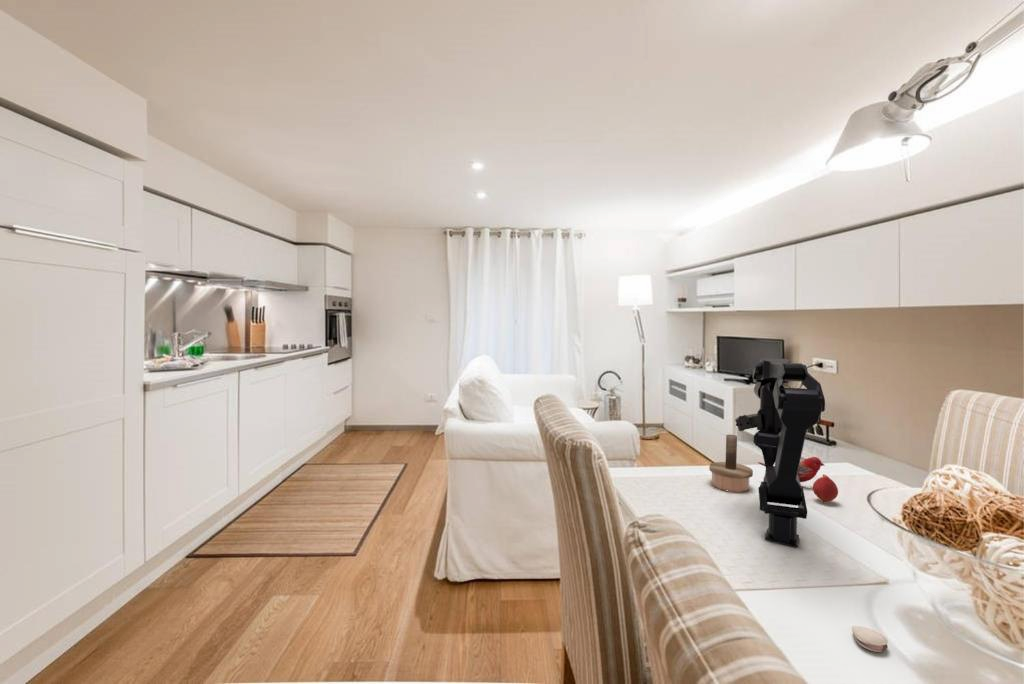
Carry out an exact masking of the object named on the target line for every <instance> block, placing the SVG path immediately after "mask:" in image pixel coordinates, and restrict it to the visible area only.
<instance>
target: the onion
mask: <svg viewBox="0 0 1024 684" xmlns="http://www.w3.org/2000/svg"><path fill="white" fill-rule="evenodd" d="M812 491H813V493H814V495H815V496H816V497H817V498H818V499H819V500H820V501H821V502H822V503H824V502H827V503H828V502H831V501H834V500H835V499H836V498H837V497H838V495H839V489H838V486H837V484H836V482H834V481H833V479H831V478H830V477H829V476H828V475H827V474H826V473H825V474H822V477H819V478H817V479H816V480H815V481H814V482H813V484H812Z"/></svg>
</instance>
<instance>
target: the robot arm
mask: <svg viewBox="0 0 1024 684" xmlns="http://www.w3.org/2000/svg"><path fill="white" fill-rule="evenodd" d="M808 370H809V369H808V367H807V365H806V364H803V363H800V362H798V363H797V362H791V360H789V359H787V358H771V357H769V358H767V357H765V358H763V357H761V358H760V359H759V361H757V363H756V364H755V366H754V369H753V373H752V380H753V381H754V383H755V385H754V388H753V392H754V394H755V396H756V397H757V398H758V399H759V400H760V402H759V409H758V410H757V413H752V414H747V415H746V414H743V415H739V416H738V417H736V418H735V420H734V421H735V426H736V427H737V429H738V431H739V432H744V431H745V430H751V429H756V430H757V431H756V432H755V433H754V435H753V443H754V445H755V446H756V447H758V448H759V449H760V450H761V452H762V457H763V462H764V464H765V466H764V467H765V473H764V476H763V481H760V485H759V486H758V487H757V489H758V498H759V499H758V501H759V503H758V504H759V507H758V508H759V509H758V510H759V511H761V512H763V513H764V514H766V515H768V525H767V526H768V527H767V528H766V532H765V535H764V539H765V540H766V541H769V542H773V543H778V544H782V545H785V546H790V547H794V548H798V547H799V540H800V535H799V534H798V518H799V519H805V520H807V516H808V508H807V507H808V506H807V503H806V502H807V501H806V497H805V493H804V492H805V491H804V487H802V486H803V485H802V484H801V482H800V480H799V477H798V475H797V473H798V469H799V464H800V462H801V459H802V455H803V450H804V445H805V441H806V436H807V431H808V430H809V429H811V428H812V427H813V426H815V425H817V424H818V423H819V421H820V418H821V415H822V413H823V412H824V411H825V409H826V400H825V399H826V398H825V396H824V392H823V388H822V385H821V383H820V382H819V381H818V380H817V379H816V378H815V377H813V376H812V375H811V374H810V373H809V371H808ZM789 382H801V384H802V385H803V387H805V388H801V387H785V386H784V384H788V383H789ZM773 466H774V467H773ZM801 485H802V486H801ZM769 503H773V504H769ZM779 504H781V505H779ZM785 505H786V506H785ZM788 505H789V506H788ZM794 506H796V507H794Z"/></svg>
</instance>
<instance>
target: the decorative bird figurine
mask: <svg viewBox="0 0 1024 684" xmlns="http://www.w3.org/2000/svg"><path fill="white" fill-rule="evenodd" d="M757 464H759V465H761V466H763V467H765V462H764V463H763V462H757ZM774 466H775V465H773V467H774ZM823 466H824V467H825V464H824V463H823V462H822V460H821V459H820V458H819V457H816V456H813V457H808V458H806V459H804V460H802V461H800V464H799V469H798V473H797V475H798V477H799V480H800V483H805V482H808V481H810V480H813V479H814V478H815V477H816V476H817V473H818V472H819V471H820V470H821V467H823ZM801 486H802V487H803V488H805V486H804V485H802V484H801Z"/></svg>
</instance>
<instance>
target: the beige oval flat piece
mask: <svg viewBox="0 0 1024 684" xmlns="http://www.w3.org/2000/svg"><path fill="white" fill-rule="evenodd" d="M851 630H852V635H853V637H854V639H855V640H856V642H857V643H858V645H860V646H861V647H863V648H865V649H866V650H868V651H870V650H871V651H870V652H873V651H874V653H882V652H883V651H887V649H888V648H889V647H888V643H889V642H888V638H887V637H886V636H885V635H884V634H882V632H879V631H876V630H875V629H873V628H872V629H871V628H869V627H865V626H864V627H863V626H859V625H852V626H851ZM882 650H883V651H882Z"/></svg>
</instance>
